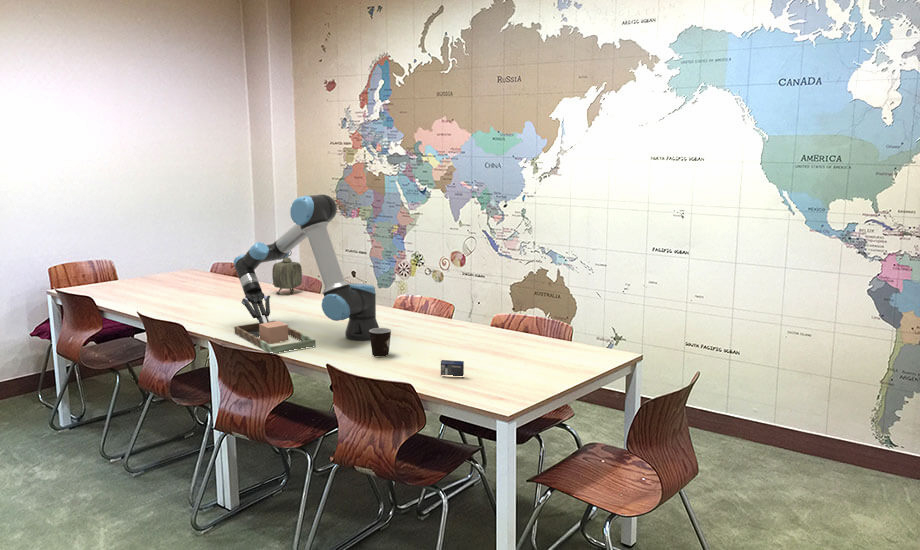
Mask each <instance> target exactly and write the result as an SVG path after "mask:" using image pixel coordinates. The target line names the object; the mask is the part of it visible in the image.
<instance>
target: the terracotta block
mask: <svg viewBox="0 0 920 550" xmlns="http://www.w3.org/2000/svg"><path fill="white" fill-rule="evenodd" d="M274 321H275V322H269V323H262V324H259V334H260V337H259V339H261V340H263V341H265V342H266V343H268V344H270V345H272V344H276V343H275V342H277V343H281V342H280V341H283V342H286V341H285V340H288V341H289V335H288V327H289V324H287V323H284V322H282V321H280V320H274Z"/></svg>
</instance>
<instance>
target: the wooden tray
mask: <svg viewBox="0 0 920 550" xmlns="http://www.w3.org/2000/svg"><path fill="white" fill-rule="evenodd" d="M275 321H276V320H272V321H271V320H269V322H275ZM269 322H268V323H269ZM259 324H260V323H259V322H257V323H249V324H243V325H236V326H234V333H235V335H237V336H239V337H241V338H242V339H244V340H246V341H247V342H250V343H251V344H253V345H255V346H257V347H259V348H260V349H262V350H263V351H266V352H267V351H268V352H267V353H269V352H273V353H277V354H280V353H279V352H283V353H285V352H284V351H289V350H294V349H301V348H306V347H312V348H314V347H313V346H316V339H315V338H312V337H310V336H308V335H306V334H304V333H302V332H300V331H297V330H296V329H293V328H291V327H289V326H288V336H290V335H291V336H290V337H292V336H293V337H292V338H294V337H295V338H294V339H296V338H297V339H296V340H298V339H299V340H298V341H297V342H291V343H285V344H279V345H272V344H268V343H266V342H265V341H263V340H261V339H260V337H259V336H260V334H259ZM254 333H255V334H254ZM300 340H301V341H300ZM301 350H302V349H301ZM289 352H290V351H289Z"/></svg>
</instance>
